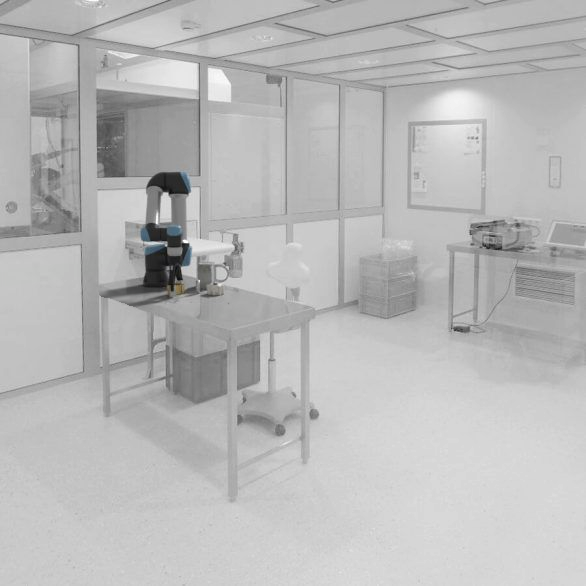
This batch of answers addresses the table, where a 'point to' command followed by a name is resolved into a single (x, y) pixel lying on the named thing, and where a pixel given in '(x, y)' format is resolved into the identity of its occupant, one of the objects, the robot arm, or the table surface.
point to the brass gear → (177, 289)
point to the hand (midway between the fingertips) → (176, 294)
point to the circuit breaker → (206, 274)
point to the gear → (215, 289)
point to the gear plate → (197, 287)
